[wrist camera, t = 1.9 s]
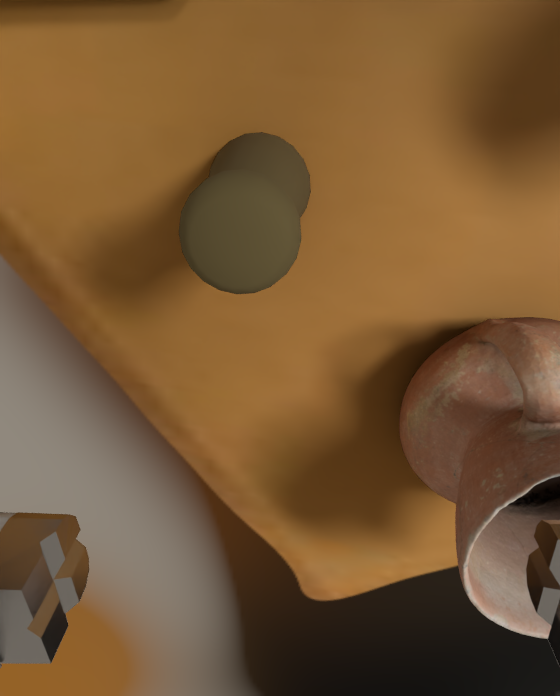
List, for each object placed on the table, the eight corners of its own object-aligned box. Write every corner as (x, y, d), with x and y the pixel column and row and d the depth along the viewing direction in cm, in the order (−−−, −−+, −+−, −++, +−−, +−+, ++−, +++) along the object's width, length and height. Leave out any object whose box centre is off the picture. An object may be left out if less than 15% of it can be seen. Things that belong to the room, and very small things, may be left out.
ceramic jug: (602, 466, 39) (745, 652, 26) (411, 498, 41) (458, 683, 28) (605, 242, 31) (813, 355, 18) (368, 298, 33) (407, 432, 20)
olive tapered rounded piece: (315, 136, 28) (319, 173, 19) (305, 241, 31) (303, 320, 22) (208, 128, 28) (155, 160, 19) (208, 233, 31) (163, 308, 22)
